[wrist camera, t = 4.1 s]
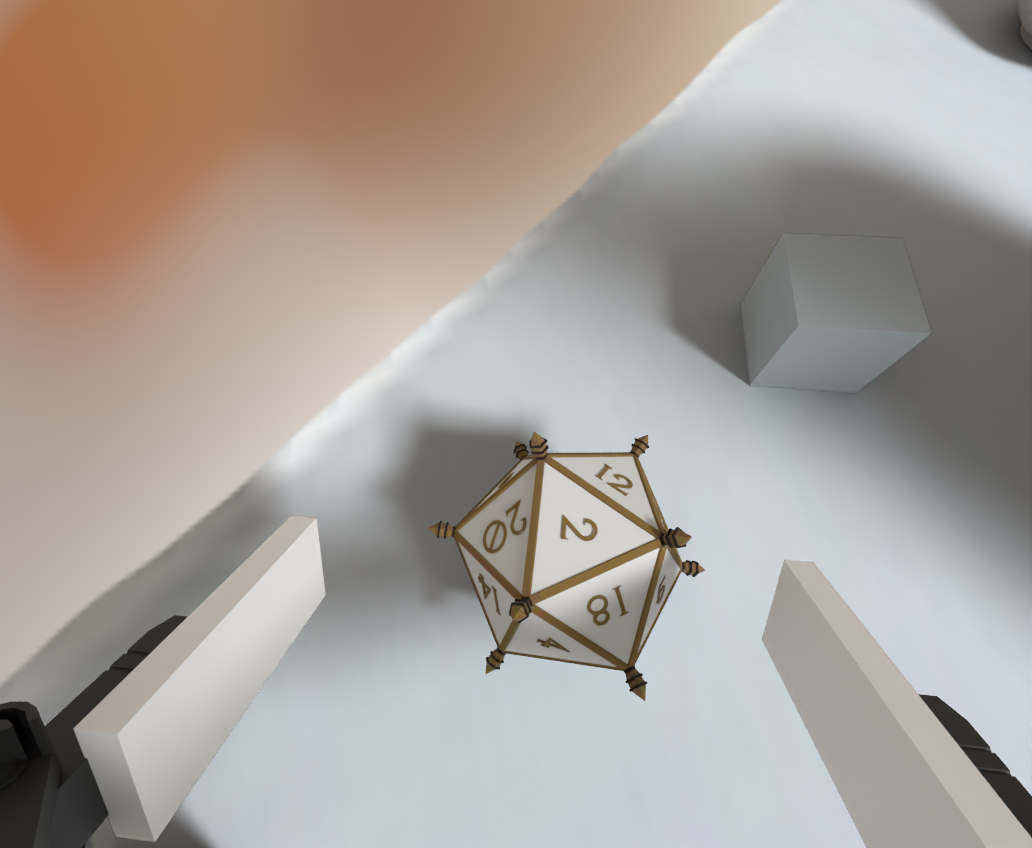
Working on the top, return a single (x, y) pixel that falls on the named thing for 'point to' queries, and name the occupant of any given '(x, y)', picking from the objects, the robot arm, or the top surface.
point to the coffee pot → (1026, 21)
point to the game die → (571, 558)
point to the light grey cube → (831, 312)
